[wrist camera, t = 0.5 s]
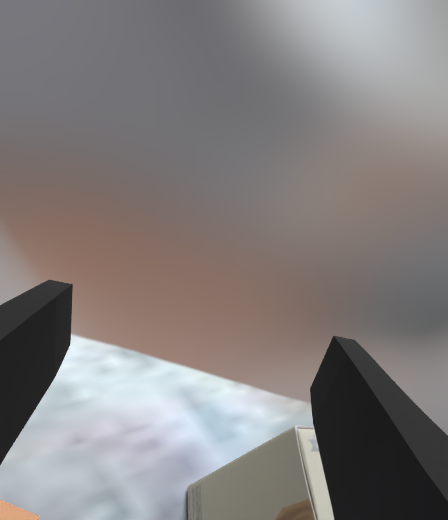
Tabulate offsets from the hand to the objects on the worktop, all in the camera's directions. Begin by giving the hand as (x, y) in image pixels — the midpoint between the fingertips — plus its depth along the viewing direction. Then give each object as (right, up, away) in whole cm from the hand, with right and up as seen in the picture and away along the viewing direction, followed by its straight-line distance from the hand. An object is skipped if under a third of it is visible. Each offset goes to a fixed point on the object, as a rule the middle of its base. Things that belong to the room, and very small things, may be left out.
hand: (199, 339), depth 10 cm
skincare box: (+1, -15, +15) cm, 21 cm away
